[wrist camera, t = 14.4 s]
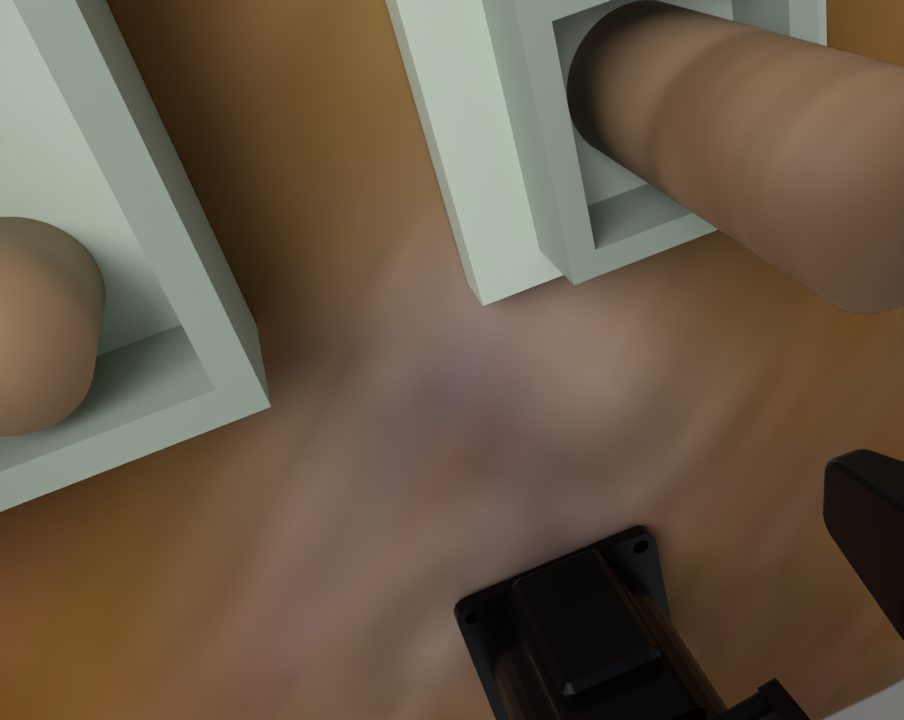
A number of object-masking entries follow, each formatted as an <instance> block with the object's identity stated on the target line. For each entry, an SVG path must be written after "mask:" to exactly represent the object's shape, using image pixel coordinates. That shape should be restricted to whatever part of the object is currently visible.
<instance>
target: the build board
mask: <svg viewBox="0 0 904 720" xmlns="http://www.w3.org/2000/svg"><path fill="white" fill-rule="evenodd" d="M385 1H386V4H387V8H388V11H389V15H390V18H391V21H392V25H393V28H394V32H395V35H396V39H397V42H398V46H399V49H400V52H401V56H402V59H403V63H404V66H405V70H406V73H407V76H408V80H409V83H410V87H411V90H412V94H413V97H414V100H415V104H416V107H417V111H418V114H419V118H420V121H421V125H422V128H423V131H424V135H425V138H426V142H427V145H428V149H429V152H430V155H431V159H432V162H433V166H434V169H435V173H436V176H437V179H438V183H439V186H440V190H441V193H442V197H443V200H444V204H445V207H446V210H447V214H448V217H449V221H450V224H451V228H452V231H453V234H454V238H455V241H456V245H457V248H458V252H459V255H460V259H461V262H462V265H463V269H464V272H465V276H466V279H467V283H468V285H469V287H470V288H471V290H472V291H473V292H474V294H475V295H476V297H477V298H478V299H479V301H480V302H481V304H482V305H483V306H485V305H487V304H490V303H493V302H495V301H498V300H500V299H503V298H505V297H508V296H511V295H513V294H516V293H518V292H521V291H524V290H526V289H529V288H531V287H534V286H537V285H539V284H542V283H544V282H547V281H550V280H552V279H555V278H557V277H560V276H563V275H564V276H565V277H566V278H567V279H568V280H569V281H570V282H571V283H572V284H573V285H576V284H579V283H582V282H584V281H587V280H589V279H592V278H594V277H597V276H600V275H602V274H605V273H607V272H610V271H613V270H615V269H618V268H620V267H623V266H625V265H628V264H631V263H633V262H636V261H638V260H641V259H644V258H646V257H649V256H651V255H654V254H657V253H659V252H662V251H664V250H667V249H669V248H672V247H675V246H677V245H680V244H682V243H685V242H688V241H690V240H693V239H695V238H698V237H700V236H703V235H706V234H708V233H711V232H713V231H716V230H718V229H717V228H715V227H714V226H712V225H711V224H709V223H708V222H706V221H705V220H703V219H702V218H700V217H699V216H697V215H696V214H694V213H693V212H691V211H689V210H688V209H686V208H685V207H683V206H682V205H680V204H679V203H677V202H676V201H674V200H673V199H671V198H670V197H668V196H667V195H665V194H664V193H662V192H661V191H659V190H658V189H656V188H655V187H653V186H652V185H650V184H649V183H647V182H646V181H644V180H642V179H641V178H639V177H638V176H636V175H635V174H633V173H632V172H630V171H629V170H627V169H626V168H624V167H623V166H621V165H620V164H618V163H617V162H615V161H614V160H612V159H611V158H609V157H608V156H606V155H605V154H603V153H602V152H600V151H599V150H597V149H596V148H594V147H592V146H591V145H590V144H589V143H587V142H586V141H585V140H584V139H583V137H582V136H581V135H580V134H579V133H578V131H577V129H576V127H575V126H574V124H573V121H572V119H571V116H570V113H569V109H568V103H567V80H568V74H569V70H570V65H571V63H572V60H573V57H574V55H575V53H576V50H577V48H578V46H579V45H580V43H581V41H582V40H583V38H584V37H585V35H586V34H587V33H588V32H589V30H590V29H591V28H592V27H593V26H594V25H595V24H596V23H597V22H598V21H599V20H600V19H601V18H603V17H604V16H605V15H606V14H608V13H609V12H611V11H613V10H614V9H616V8H618V7H620V6H623V5H625V4H628V3H631V2H635V1H642V0H385ZM655 1H660V2H665V3H669V4H672V5H676V6H680V7H684V8H687V9H691V10H695V11H698V12H702V13H706V14H710V15H713V16H717V17H721V18H724V19H728V20H732V21H736V22H739V23H743V24H747V25H750V26H754V27H758V28H762V29H765V30H769V31H773V32H776V33H780V34H784V35H788V36H791V37H795V38H799V39H802V40H806V41H810V42H814V43H817V44H821V45H825V46H827V25H826V0H655Z"/></svg>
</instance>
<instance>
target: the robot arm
mask: <svg viewBox="0 0 904 720" xmlns="http://www.w3.org/2000/svg"><path fill="white" fill-rule="evenodd" d="M823 517H824V521H825V524H826V527H827V529H828V531H829V533H830V535H831V537H832V538H833V540H834V541H835V542H836V544H837V545H838V547H839V548H840V550H841V551H842V553H843V554H844V555H845V557H846V558H847V560H848V561H849V563H850V564H851V566H852V567H853V568H854V570H855V571H856V573H857V574H858V576H859V577H860V579H861V580H862V581H863V583H864V584H865V586H866V587H867V589H868V590H869V592H870V593H871V594H872V596H873V597H874V599H875V600H876V602H877V603H878V605H879V606H880V607H881V609H882V610H883V612H884V613H885V615H886V616H887V618H888V619H889V620H890V622H891V623H892V625H893V626H894V628H895V629H896V630H897V632H898V633H899V635H900V636H901V637H902V639H903V640H904V462H903V461H900V460H897V459H894V458H891V457H888V456H885V455H883V454H880V453H877V452H874V451H871V450H866V449H858V450H854V451H852V452H849V453H846V454H843V455H841V456H838V457H835V458H833V459H831V460H830V461H828V463H827V465H826V467H825V475H824V501H823ZM639 541H640V542H639ZM638 542H639V543H638ZM636 543H637V544H636ZM473 611H475V612H473ZM471 612H473V613H471ZM469 613H471V614H469ZM454 615H455V618H456V620H457V623H458V626H459V628H460V631H461V633H462V636H463V638H464V641H465V643H466V646H467V648H468V651H469V653H470V656H471V658H472V661H473V663H474V666H475V668H476V671H477V673H478V676H479V678H480V681H481V683H482V686H483V688H484V691H485V693H486V696H487V698H488V701H489V703H490V706H491V708H492V711H493V713H494V716H495V718H496V720H810V719H809V717H808V716H807V715H806V714H805V713H804V711H803V710H802V709H801V708H800V707H799V705H798V704H797V703H796V702H795V701H794V700H793V698H792V697H791V696H790V695H789V694H788V692H787V691H786V690H785V689H784V688H783V686H782V685H781V684H780V683H779V682H778V680H777V679H776V678H774V679H772V680H770V681H768V682H767V683H765V684H763V685H762V686H760V687H758V688H757V689H758V691H759V692H757V693H756V694H754V695H752V696H751V697H749V698H747V699H745V700H744V701H742V702H740V703H739V704H737V705H735V706H734V707H732V708H730V709H727V707H726V705H725V704H724V702H723V701H722V699H721V698H720V696H719V695H718V693H717V692H716V690H715V689H714V687H713V686H712V684H711V683H710V681H709V680H708V678H707V677H706V675H705V674H704V672H703V671H702V669H701V668H700V666H699V665H698V663H697V662H696V660H695V659H694V657H693V656H692V654H691V652H690V651H689V649H688V648H687V646H686V645H685V643H684V642H683V640H682V639H681V637H680V636H679V634H678V633H677V631H676V630H675V628H674V627H673V625H672V624H671V619H670V614H669V609H668V603H667V598H666V593H665V587H664V582H663V577H662V571H661V566H660V561H659V555H658V550H657V545H656V540H655V538H654V536H653V535H652V534H651V532H650V531H649V529H648V528H646V527H645V526H635V527H632V528H629V529H627V530H625V531H622V532H620V533H617V534H615V535H613V536H610V537H608V538H605V539H603V540H601V541H598V542H596V543H593V544H591V545H589V546H586V547H584V548H582V549H579V550H577V551H574V552H572V553H570V554H567V555H565V556H562V557H560V558H558V559H555V560H553V561H551V562H548V563H546V564H543V565H541V566H539V567H536V568H534V569H531V570H529V571H527V572H524V573H522V574H519V575H517V576H515V577H512V578H510V579H508V580H505V581H503V582H500V583H498V584H496V585H493V586H491V587H488V588H486V589H484V590H481V591H479V592H476V593H474V594H472V595H469V596H467V597H465V598H463V599H461V600H460V601H459V602H458V603H457V604H456V606H455V608H454Z"/></svg>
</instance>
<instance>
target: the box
mask: <svg viewBox="0 0 904 720" xmlns="http://www.w3.org/2000/svg"><path fill="white" fill-rule="evenodd" d="M270 407H271V403H270V397H269V392H268V386H267V381H266V375H265V370H264V364H263V359H262V353H261V348H260V342H259V337H258V331H257V326H256V323H255V321H254V319H253V317H252V314H251V312H250V310H249V308H248V306H247V304H246V302H245V299H244V297H243V295H242V293H241V291H240V289H239V286H238V284H237V282H236V280H235V278H234V276H233V273H232V271H231V269H230V267H229V265H228V263H227V260H226V258H225V256H224V254H223V252H222V250H221V247H220V245H219V243H218V241H217V239H216V237H215V235H214V232H213V230H212V228H211V226H210V224H209V222H208V219H207V217H206V215H205V213H204V211H203V209H202V206H201V204H200V202H199V200H198V198H197V196H196V193H195V191H194V189H193V187H192V185H191V183H190V181H189V178H188V176H187V174H186V172H185V170H184V168H183V165H182V163H181V161H180V159H179V157H178V155H177V152H176V150H175V148H174V146H173V144H172V142H171V139H170V137H169V135H168V133H167V131H166V129H165V127H164V124H163V122H162V120H161V118H160V116H159V114H158V111H157V109H156V107H155V105H154V103H153V101H152V98H151V96H150V94H149V92H148V90H147V88H146V85H145V83H144V81H143V79H142V77H141V75H140V72H139V70H138V68H137V66H136V64H135V62H134V60H133V57H132V55H131V53H130V51H129V49H128V47H127V44H126V42H125V40H124V38H123V36H122V34H121V31H120V29H119V27H118V25H117V23H116V21H115V18H114V16H113V14H112V12H111V10H110V8H109V6H108V3H107V1H106V0H0V512H1V511H4V510H6V509H9V508H11V507H14V506H16V505H19V504H22V503H24V502H27V501H29V500H32V499H35V498H37V497H40V496H42V495H45V494H47V493H50V492H53V491H55V490H58V489H60V488H63V487H66V486H68V485H71V484H73V483H76V482H78V481H81V480H84V479H86V478H89V477H91V476H94V475H97V474H99V473H102V472H104V471H107V470H109V469H112V468H115V467H117V466H120V465H122V464H125V463H128V462H130V461H133V460H135V459H138V458H140V457H143V456H146V455H148V454H151V453H153V452H156V451H159V450H161V449H164V448H166V447H169V446H171V445H174V444H177V443H179V442H182V441H184V440H187V439H190V438H192V437H195V436H197V435H200V434H202V433H205V432H208V431H210V430H213V429H215V428H218V427H220V426H223V425H226V424H228V423H231V422H233V421H236V420H239V419H241V418H244V417H246V416H249V415H251V414H254V413H257V412H259V411H262V410H264V409H267V408H270Z"/></svg>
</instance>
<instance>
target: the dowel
mask: <svg viewBox="0 0 904 720" xmlns="http://www.w3.org/2000/svg"><path fill="white" fill-rule="evenodd" d="M567 103H568V109H569V113H570V116H571V119H572V121H573V124H574V126H575V127H576V129H577V131H578V133H579V134H580V135H581V136H582V137H583V139H584V140H585V141H586V142H587V143H589V144H590V145H591V146H592V147H594V148H596V149H597V150H599V151H600V152H602V153H603V154H605V155H606V156H608V157H609V158H611V159H612V160H614V161H615V162H617V163H618V164H620V165H621V166H623V167H624V168H626V169H627V170H629V171H630V172H632V173H633V174H635V175H636V176H638V177H639V178H641V179H642V180H644V181H646V182H647V183H649V184H650V185H652V186H653V187H655V188H656V189H658V190H659V191H661V192H662V193H664V194H665V195H667V196H668V197H670V198H671V199H673V200H674V201H676V202H677V203H679V204H680V205H682V206H683V207H685V208H686V209H688V210H689V211H691V212H693V213H694V214H696V215H697V216H699V217H700V218H702V219H703V220H705V221H706V222H708V223H709V224H711V225H712V226H714V227H715V228H717V229H718V230H720V231H721V232H723V233H724V234H726V235H727V236H729V237H730V238H732V239H733V240H735V241H736V242H738V243H740V244H741V245H743V246H744V247H746V248H747V249H749V250H750V251H752V252H753V253H755V254H756V255H758V256H759V257H761V258H762V259H764V260H765V261H767V262H768V263H770V264H771V265H773V266H774V267H776V268H777V269H779V270H780V271H782V272H783V273H785V274H787V275H788V276H790V277H791V278H793V279H794V280H796V281H797V282H799V283H800V284H802V285H803V286H805V287H806V288H808V289H809V290H811V291H812V292H814V293H815V294H817V295H818V296H820V297H821V298H823V299H824V300H826V301H827V302H829V303H830V304H832V305H834V306H835V307H838V308H840V309H842V310H845V311H849V312H854V313H865V314H869V313H880V312H885V311H889V310H893V309H896V308H899V307H902V306H904V67H903V66H899V65H895V64H892V63H888V62H884V61H880V60H877V59H873V58H869V57H866V56H862V55H858V54H854V53H851V52H847V51H843V50H840V49H836V48H832V47H828V46H825V45H821V44H817V43H814V42H810V41H806V40H802V39H799V38H795V37H791V36H788V35H784V34H780V33H776V32H773V31H769V30H765V29H762V28H758V27H754V26H750V25H747V24H743V23H739V22H736V21H732V20H728V19H724V18H721V17H717V16H713V15H710V14H706V13H702V12H698V11H695V10H691V9H687V8H684V7H680V6H676V5H672V4H669V3H665V2H660V1H655V0H642V1H635V2H631V3H628V4H625V5H623V6H620V7H618V8H616V9H614V10H613V11H611V12H609V13H608V14H606V15H605V16H604V17H603V18H601V19H600V20H599V21H598V22H597V23H596V24H595V25H594V26H593V27H592V28H591V29H590V30H589V32H588V33H587V34H586V35H585V37H584V38H583V40H582V41H581V43H580V45H579V46H578V48H577V50H576V53H575V55H574V57H573V60H572V63H571V65H570V70H569V74H568V80H567Z"/></svg>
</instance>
